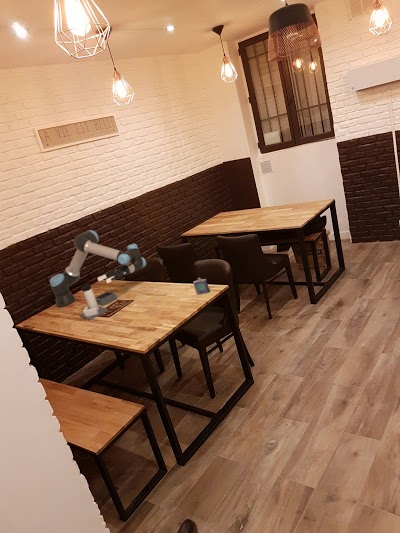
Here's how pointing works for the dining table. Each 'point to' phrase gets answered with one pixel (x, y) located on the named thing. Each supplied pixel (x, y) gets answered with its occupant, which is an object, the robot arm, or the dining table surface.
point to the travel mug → (90, 297)
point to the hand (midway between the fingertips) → (102, 280)
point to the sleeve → (106, 298)
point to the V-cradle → (92, 312)
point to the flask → (201, 286)
